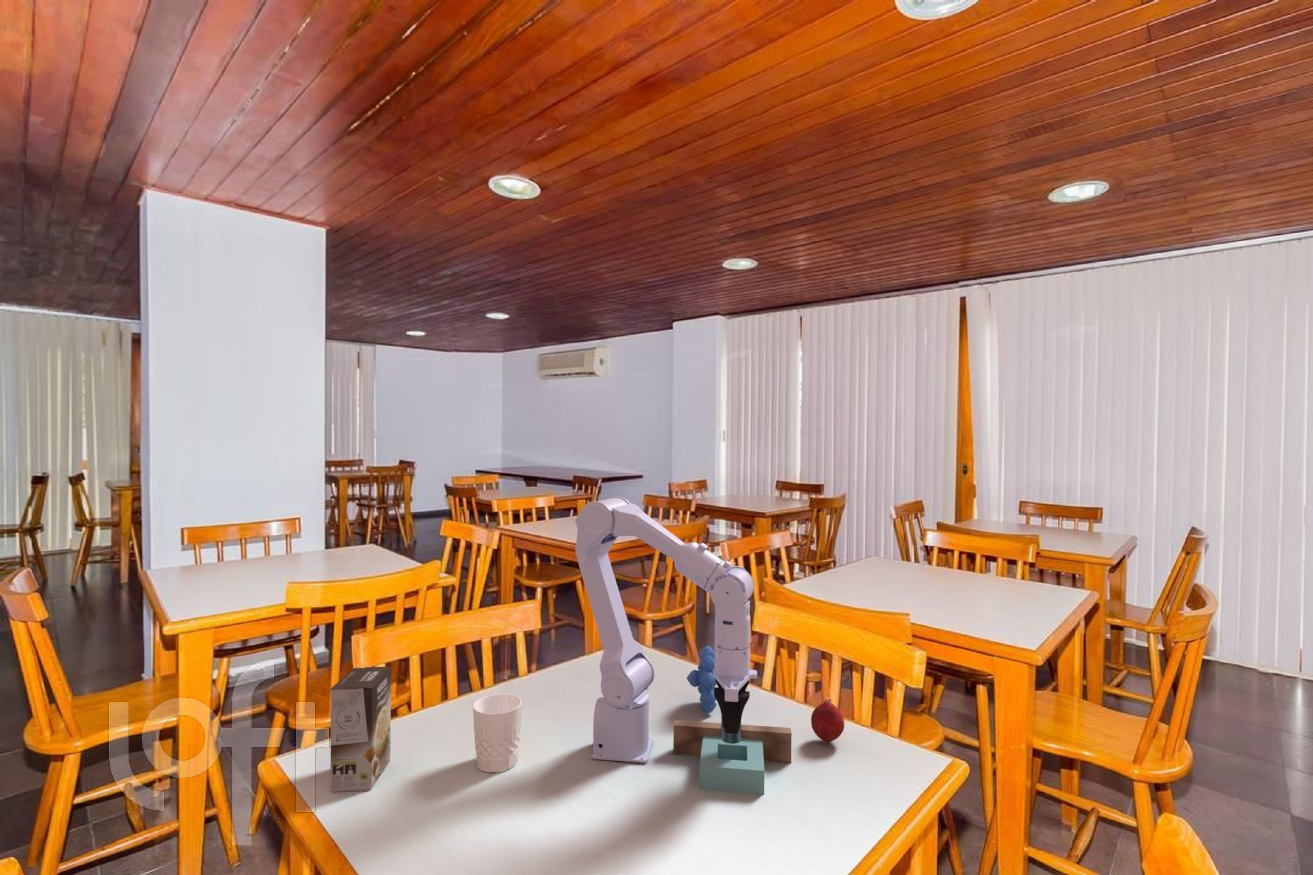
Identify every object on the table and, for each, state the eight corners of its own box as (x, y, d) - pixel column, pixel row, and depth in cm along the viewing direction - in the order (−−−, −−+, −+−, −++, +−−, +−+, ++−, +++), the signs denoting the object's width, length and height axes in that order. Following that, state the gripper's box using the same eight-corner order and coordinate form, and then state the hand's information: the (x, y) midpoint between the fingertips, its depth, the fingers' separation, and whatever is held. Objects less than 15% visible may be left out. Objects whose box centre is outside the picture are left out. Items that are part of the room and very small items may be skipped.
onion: (845, 752, 111) (845, 706, 111) (811, 748, 112) (812, 703, 112) (842, 736, 117) (843, 693, 116) (810, 733, 118) (810, 690, 118)
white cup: (530, 762, 107) (530, 703, 107) (489, 780, 101) (489, 718, 101) (504, 745, 112) (504, 689, 112) (463, 762, 107) (463, 703, 106)
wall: (673, 753, 110) (673, 725, 110) (674, 748, 112) (674, 719, 112) (791, 762, 107) (791, 733, 107) (790, 756, 109) (790, 727, 109)
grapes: (685, 695, 134) (686, 638, 134) (718, 695, 134) (718, 639, 134) (686, 720, 123) (686, 658, 122) (721, 721, 122) (722, 659, 122)
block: (699, 791, 99) (699, 765, 99) (702, 758, 109) (703, 735, 109) (764, 796, 98) (764, 770, 98) (761, 762, 108) (762, 739, 108)
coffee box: (372, 791, 98) (372, 687, 98) (329, 792, 98) (329, 688, 97) (391, 760, 107) (391, 665, 107) (352, 761, 107) (352, 666, 106)
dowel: (721, 743, 102) (722, 700, 102) (720, 733, 105) (720, 691, 105) (741, 743, 102) (742, 700, 102) (740, 734, 105) (740, 692, 105)
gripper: (758, 661, 96) (757, 751, 96) (756, 631, 110) (755, 709, 110) (711, 659, 97) (710, 747, 97) (715, 629, 111) (714, 706, 111)
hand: (731, 727), depth 104 cm, fingers closed on dowel, 3 cm apart
